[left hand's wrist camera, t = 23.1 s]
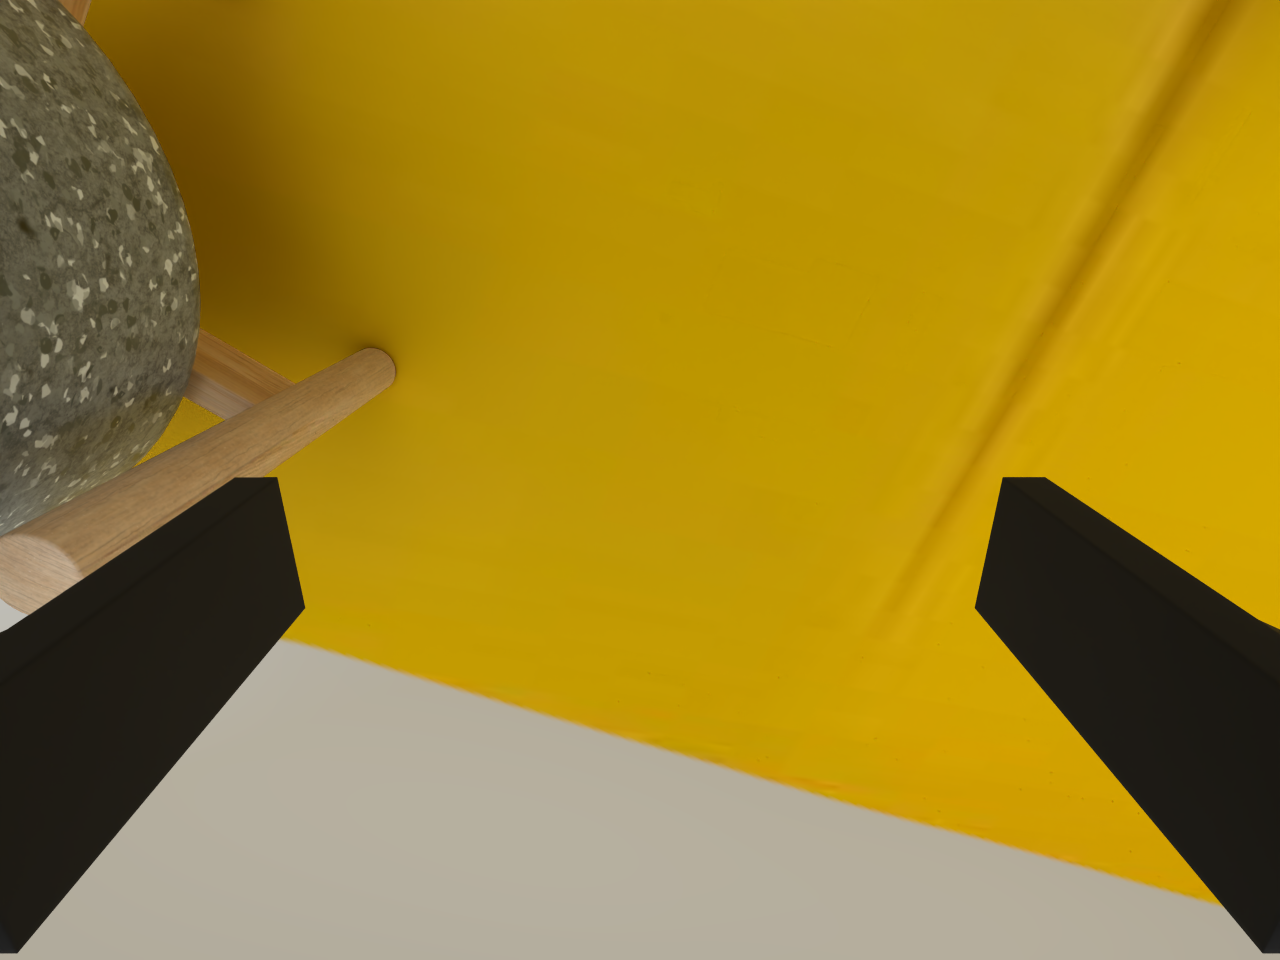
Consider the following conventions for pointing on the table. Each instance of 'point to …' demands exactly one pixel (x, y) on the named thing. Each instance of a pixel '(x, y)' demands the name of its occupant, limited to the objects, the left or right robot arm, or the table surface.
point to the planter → (113, 325)
